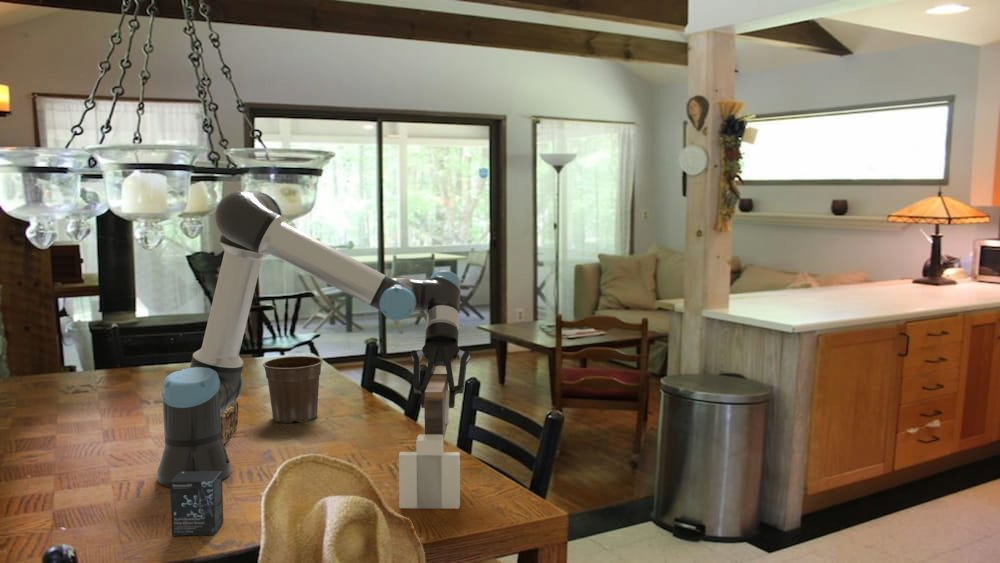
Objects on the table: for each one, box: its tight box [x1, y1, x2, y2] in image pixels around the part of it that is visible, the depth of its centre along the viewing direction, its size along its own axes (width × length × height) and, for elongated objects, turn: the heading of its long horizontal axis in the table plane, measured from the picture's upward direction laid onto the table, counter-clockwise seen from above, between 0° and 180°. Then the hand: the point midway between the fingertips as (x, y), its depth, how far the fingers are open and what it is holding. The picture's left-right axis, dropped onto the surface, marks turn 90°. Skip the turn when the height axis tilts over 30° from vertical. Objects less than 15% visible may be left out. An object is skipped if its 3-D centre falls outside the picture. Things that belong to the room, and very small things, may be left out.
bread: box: [220, 399, 239, 445], centre depth 199 cm, size 19×11×10 cm, turn 7°
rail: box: [424, 373, 449, 442], centre depth 165 cm, size 16×4×11 cm, turn 179°
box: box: [169, 471, 224, 537], centre depth 144 cm, size 8×6×11 cm
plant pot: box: [262, 355, 324, 424], centre depth 217 cm, size 16×16×16 cm
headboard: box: [398, 433, 461, 510], centre depth 158 cm, size 8×12×14 cm, turn 89°
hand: (436, 420), depth 164 cm, fingers closed on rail, 3 cm apart
